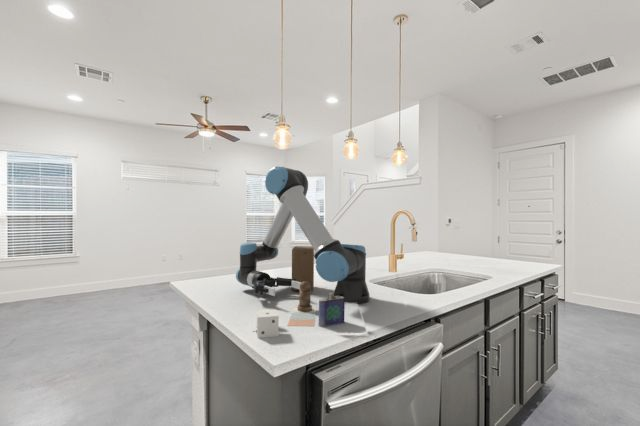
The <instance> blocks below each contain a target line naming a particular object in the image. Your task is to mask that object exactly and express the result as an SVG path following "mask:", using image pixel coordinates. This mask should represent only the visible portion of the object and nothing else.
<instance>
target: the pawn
mask: <svg viewBox="0 0 640 426" xmlns="http://www.w3.org/2000/svg"><path fill="white" fill-rule="evenodd" d="M310 288H311V286H310V283H309V282H307V281H303V282H302V283H301V284H300V291H299V302H298V303H299V304H298V305H297V307H298V311H301V312H309V311H311V310H312V307H313V305H312V304H311V292H312V291H311V290H310Z"/></svg>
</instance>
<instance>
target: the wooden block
mask: <svg viewBox="0 0 640 426" xmlns="http://www.w3.org/2000/svg"><path fill="white" fill-rule="evenodd" d="M314 253H315V250H314V248H313V247H312V245H310V246H309V245H304V246H299V245H297V246H293V248H292V250H291V279H293V278H294V279H297V282H301V283H302V282H303V281H307V282H309V283H310V286H311V288H310V290H311V292H312V291H314V283H315V282H314V280H315V279H314V277H315V276H314V275H315V272H314V271H315V268H314V267H315V262H314V261H315V257H314ZM291 291H293V292H300V289H296V288H293V287H291Z"/></svg>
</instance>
